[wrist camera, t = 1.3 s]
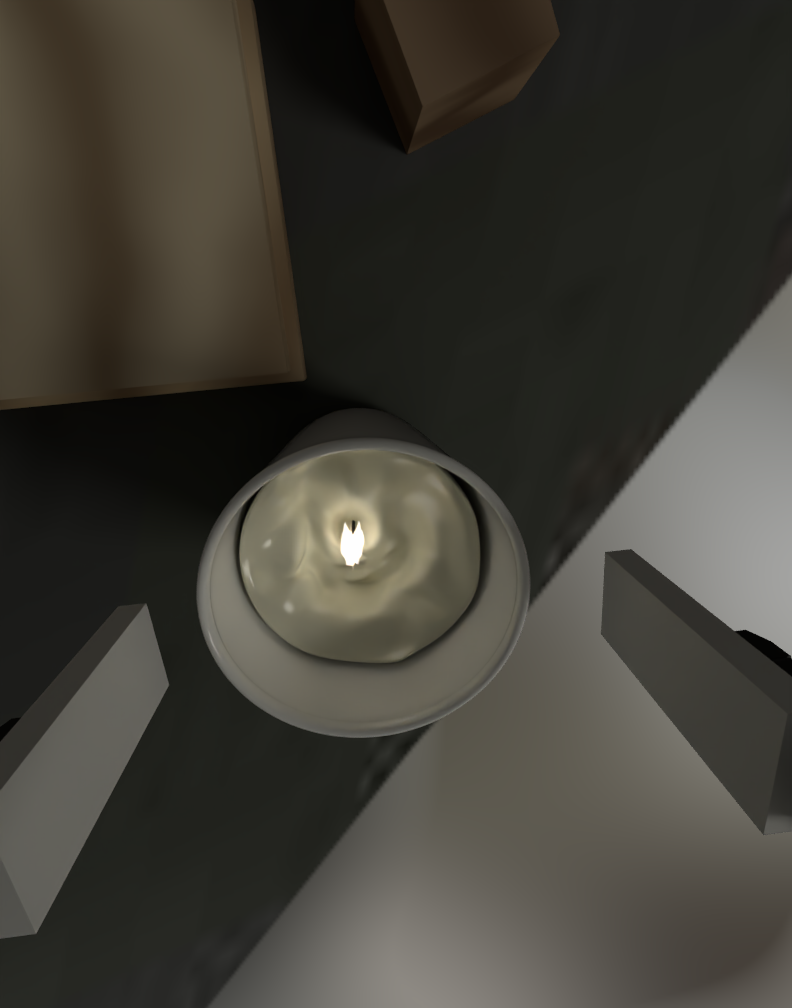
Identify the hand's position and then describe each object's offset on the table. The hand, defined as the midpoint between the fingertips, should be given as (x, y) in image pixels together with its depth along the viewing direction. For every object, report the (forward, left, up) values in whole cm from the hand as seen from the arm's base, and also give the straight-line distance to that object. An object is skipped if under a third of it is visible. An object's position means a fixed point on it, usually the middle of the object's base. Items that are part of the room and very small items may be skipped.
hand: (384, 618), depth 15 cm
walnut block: (+5, +18, -13) cm, 22 cm away
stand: (-9, +13, -12) cm, 20 cm away
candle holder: (0, 0, -13) cm, 13 cm away
